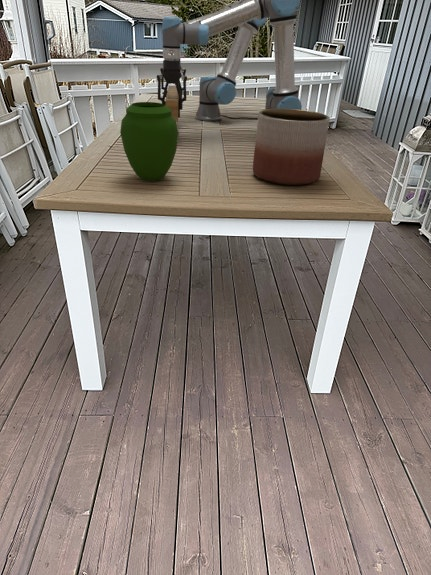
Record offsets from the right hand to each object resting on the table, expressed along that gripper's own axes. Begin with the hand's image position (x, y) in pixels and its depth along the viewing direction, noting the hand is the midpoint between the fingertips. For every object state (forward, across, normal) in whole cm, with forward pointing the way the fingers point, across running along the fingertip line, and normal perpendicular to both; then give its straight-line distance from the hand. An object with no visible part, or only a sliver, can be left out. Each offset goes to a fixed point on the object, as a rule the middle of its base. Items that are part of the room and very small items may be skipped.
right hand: (172, 116), depth 189 cm
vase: (+11, -7, -56) cm, 58 cm away
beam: (+1, 0, +19) cm, 19 cm away
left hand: (0, 0, +38) cm, 39 cm away
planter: (+11, +43, -51) cm, 68 cm away
